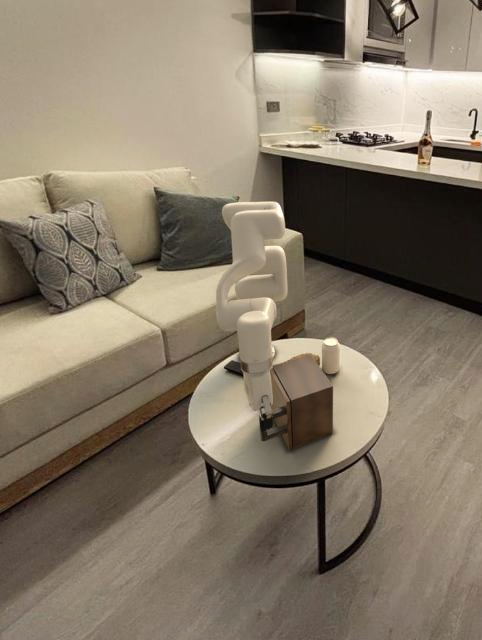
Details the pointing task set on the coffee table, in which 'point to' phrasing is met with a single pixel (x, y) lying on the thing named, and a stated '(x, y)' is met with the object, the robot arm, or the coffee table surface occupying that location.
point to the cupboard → (307, 399)
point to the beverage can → (330, 355)
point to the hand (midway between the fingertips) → (261, 416)
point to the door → (279, 413)
